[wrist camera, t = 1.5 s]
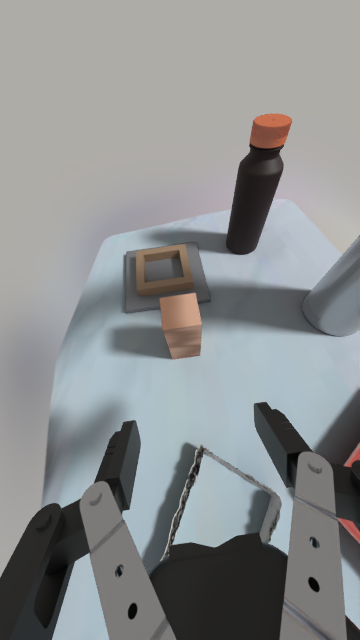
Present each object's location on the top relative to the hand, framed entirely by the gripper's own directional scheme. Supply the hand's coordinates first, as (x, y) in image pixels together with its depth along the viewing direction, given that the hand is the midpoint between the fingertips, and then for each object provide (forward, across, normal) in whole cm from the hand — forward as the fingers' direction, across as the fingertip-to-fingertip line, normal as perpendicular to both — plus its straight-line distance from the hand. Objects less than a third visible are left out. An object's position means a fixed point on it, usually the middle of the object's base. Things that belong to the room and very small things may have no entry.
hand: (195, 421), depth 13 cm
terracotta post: (+19, 0, +2) cm, 19 cm away
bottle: (+35, -16, -13) cm, 41 cm away
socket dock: (+30, +2, -9) cm, 32 cm away
